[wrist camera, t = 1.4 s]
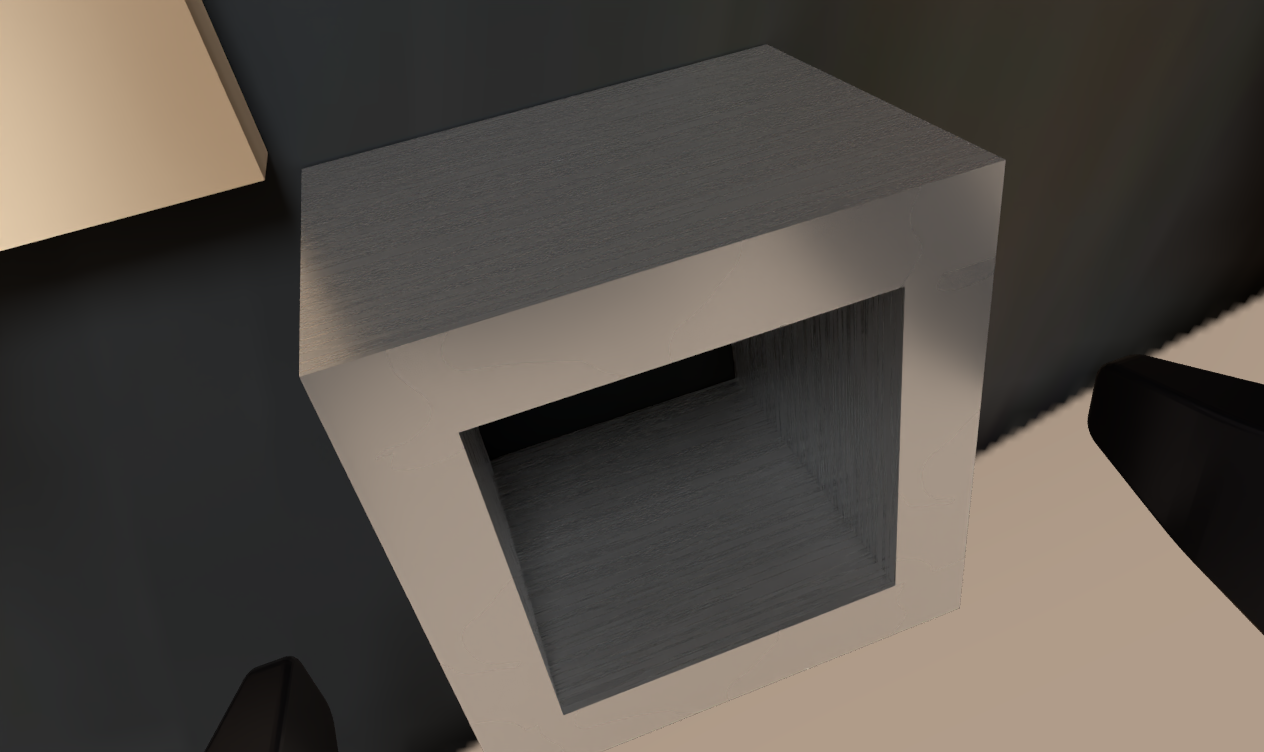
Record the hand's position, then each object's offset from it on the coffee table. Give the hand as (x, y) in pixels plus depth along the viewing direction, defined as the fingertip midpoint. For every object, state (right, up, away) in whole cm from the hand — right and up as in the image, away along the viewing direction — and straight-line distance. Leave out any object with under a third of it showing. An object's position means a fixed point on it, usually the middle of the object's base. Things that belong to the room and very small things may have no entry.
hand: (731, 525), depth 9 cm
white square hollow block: (-2, +3, +4) cm, 5 cm away
